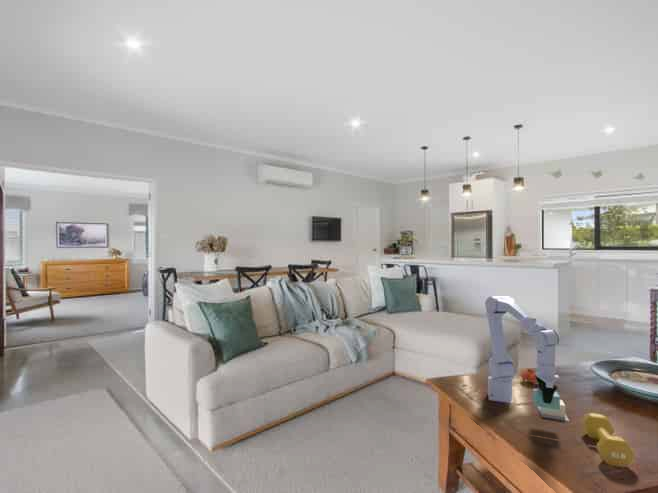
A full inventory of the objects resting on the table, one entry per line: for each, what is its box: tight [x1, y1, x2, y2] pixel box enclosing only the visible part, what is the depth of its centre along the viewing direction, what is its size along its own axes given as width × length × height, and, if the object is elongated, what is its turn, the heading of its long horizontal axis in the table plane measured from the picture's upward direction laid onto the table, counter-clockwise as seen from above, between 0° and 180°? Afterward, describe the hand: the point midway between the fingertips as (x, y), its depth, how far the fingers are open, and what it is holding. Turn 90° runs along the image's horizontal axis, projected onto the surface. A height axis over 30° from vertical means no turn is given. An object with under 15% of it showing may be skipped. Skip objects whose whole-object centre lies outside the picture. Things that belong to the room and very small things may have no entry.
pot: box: [520, 368, 538, 386], centre depth 164 cm, size 8×8×7 cm
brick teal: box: [532, 388, 561, 410], centre depth 126 cm, size 8×5×4 cm, turn 67°
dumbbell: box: [580, 412, 636, 468], centre depth 111 cm, size 19×9×8 cm, turn 159°
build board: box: [536, 406, 570, 422], centre depth 135 cm, size 9×10×1 cm
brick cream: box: [540, 399, 566, 417], centre depth 135 cm, size 8×5×4 cm, turn 67°
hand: (545, 399), depth 126 cm, fingers closed on brick teal, 5 cm apart
